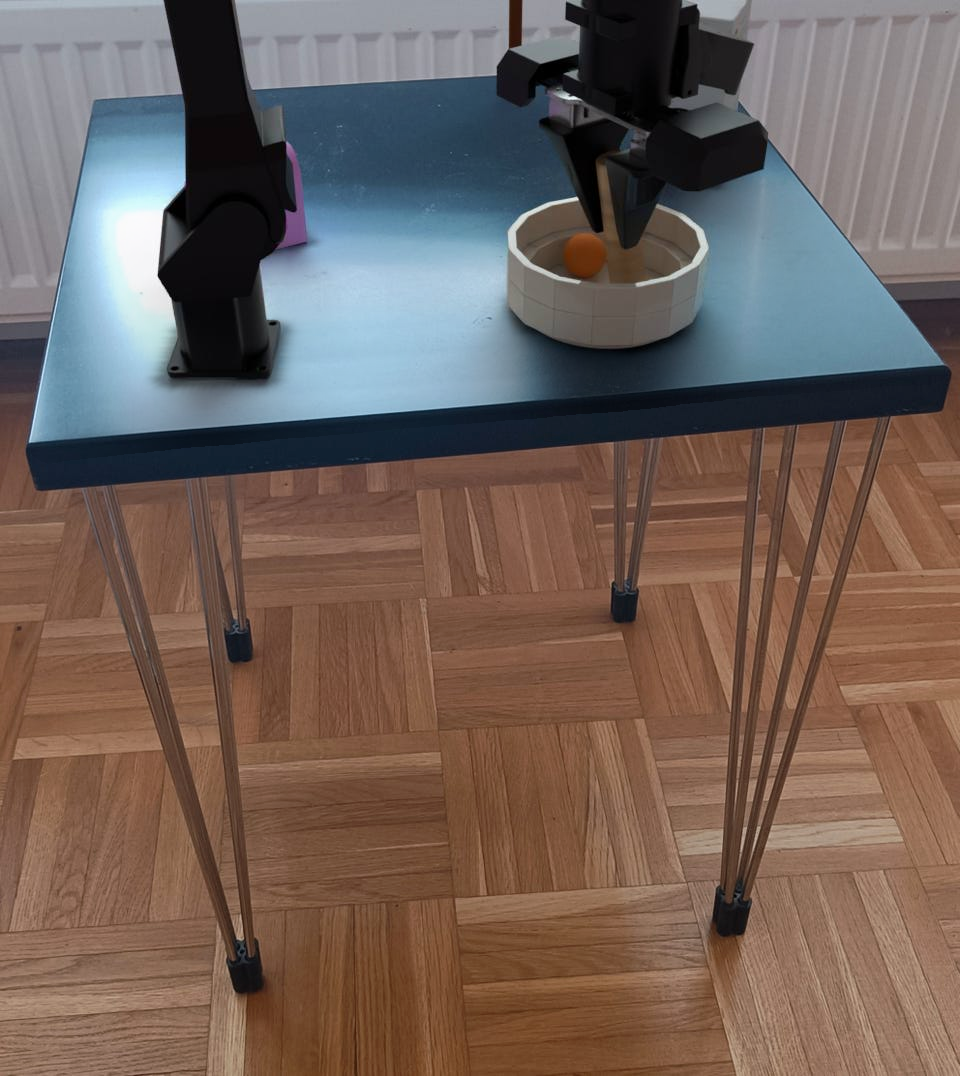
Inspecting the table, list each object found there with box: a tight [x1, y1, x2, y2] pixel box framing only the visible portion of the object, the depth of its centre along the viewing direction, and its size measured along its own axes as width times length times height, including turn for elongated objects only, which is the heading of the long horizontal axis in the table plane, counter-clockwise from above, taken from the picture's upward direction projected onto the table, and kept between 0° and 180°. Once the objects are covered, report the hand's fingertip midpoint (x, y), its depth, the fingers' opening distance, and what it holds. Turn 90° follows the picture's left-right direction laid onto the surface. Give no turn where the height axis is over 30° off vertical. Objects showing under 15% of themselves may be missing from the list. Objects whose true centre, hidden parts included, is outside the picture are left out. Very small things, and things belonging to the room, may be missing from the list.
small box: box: [668, 0, 753, 111], centre depth 100 cm, size 8×6×13 cm
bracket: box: [183, 140, 308, 251], centre depth 94 cm, size 13×6×7 cm, turn 30°
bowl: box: [506, 196, 710, 350], centre depth 84 cm, size 13×13×5 cm
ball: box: [563, 233, 606, 277], centre depth 87 cm, size 3×3×3 cm
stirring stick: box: [595, 149, 646, 283], centre depth 80 cm, size 2×2×10 cm
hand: (614, 239), depth 80 cm, fingers closed on stirring stick, 2 cm apart
